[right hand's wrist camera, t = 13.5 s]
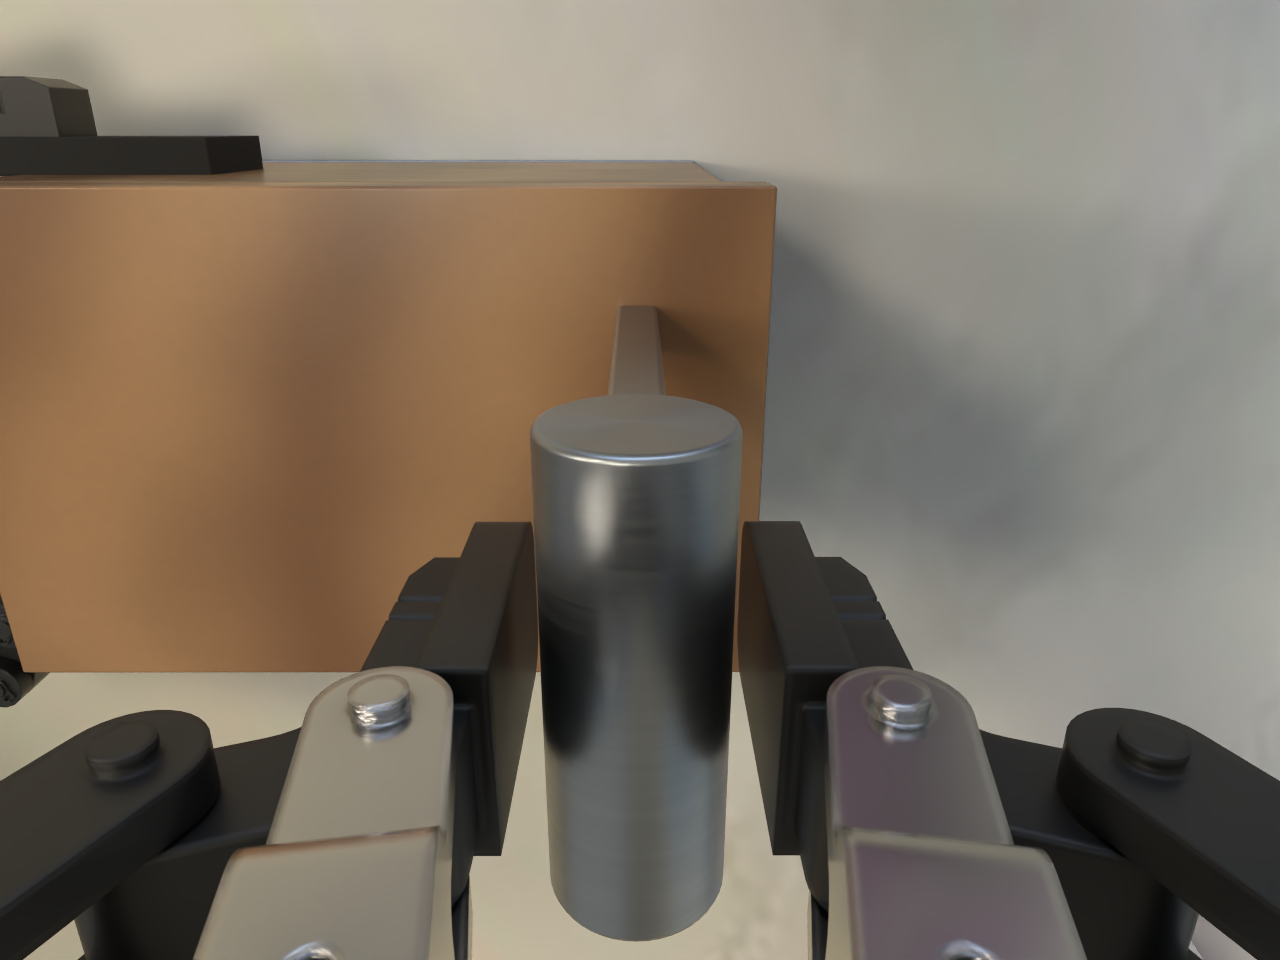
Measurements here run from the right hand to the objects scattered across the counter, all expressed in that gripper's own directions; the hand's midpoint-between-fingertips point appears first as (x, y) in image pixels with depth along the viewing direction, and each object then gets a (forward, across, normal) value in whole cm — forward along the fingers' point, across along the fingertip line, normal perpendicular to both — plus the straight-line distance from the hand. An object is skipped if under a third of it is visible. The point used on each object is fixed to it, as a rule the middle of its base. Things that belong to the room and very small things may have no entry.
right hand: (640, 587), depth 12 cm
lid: (+6, -5, 0) cm, 8 cm away
